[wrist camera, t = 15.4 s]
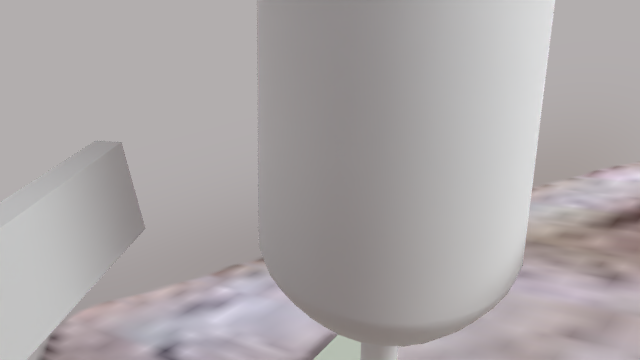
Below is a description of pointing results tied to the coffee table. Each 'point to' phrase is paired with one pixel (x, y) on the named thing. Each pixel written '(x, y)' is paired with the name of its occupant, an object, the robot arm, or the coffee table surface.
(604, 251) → the coffee table surface
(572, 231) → the coffee table surface
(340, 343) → the resting pad
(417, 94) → the champagne flute
